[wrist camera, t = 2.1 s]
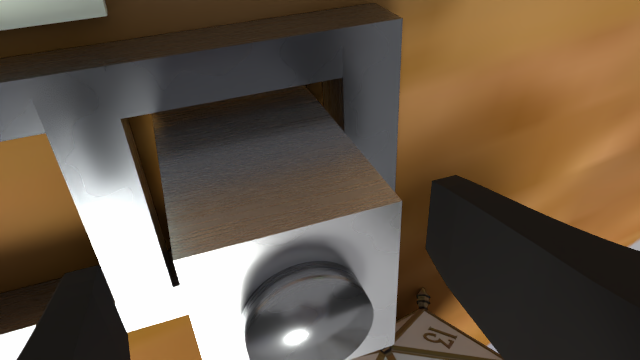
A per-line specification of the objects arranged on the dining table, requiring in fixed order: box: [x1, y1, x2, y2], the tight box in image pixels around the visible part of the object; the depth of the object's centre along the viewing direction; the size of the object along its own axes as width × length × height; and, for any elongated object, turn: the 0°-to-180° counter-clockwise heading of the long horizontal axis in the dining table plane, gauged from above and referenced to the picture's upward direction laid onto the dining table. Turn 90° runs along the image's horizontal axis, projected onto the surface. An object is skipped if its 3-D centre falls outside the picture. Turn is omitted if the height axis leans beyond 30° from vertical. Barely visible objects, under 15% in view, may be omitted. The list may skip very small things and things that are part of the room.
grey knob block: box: [152, 85, 402, 360], centre depth 11 cm, size 4×4×7 cm
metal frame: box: [0, 3, 403, 360], centre depth 13 cm, size 15×8×2 cm, turn 94°
